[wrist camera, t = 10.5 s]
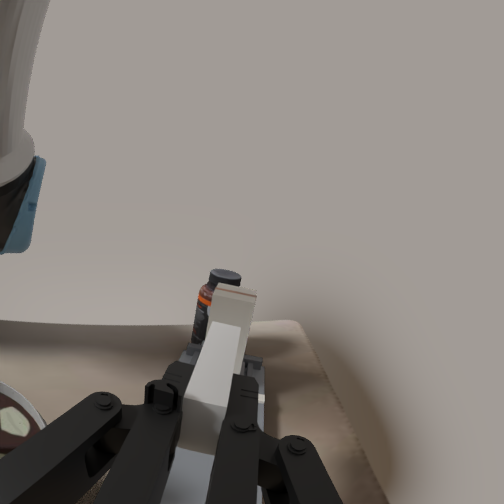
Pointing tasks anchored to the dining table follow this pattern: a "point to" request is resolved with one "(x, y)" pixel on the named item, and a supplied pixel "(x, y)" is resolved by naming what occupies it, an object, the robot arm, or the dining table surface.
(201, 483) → the board
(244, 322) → the fader tab
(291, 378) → the dining table surface
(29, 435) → the food container
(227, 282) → the supplement bottle
